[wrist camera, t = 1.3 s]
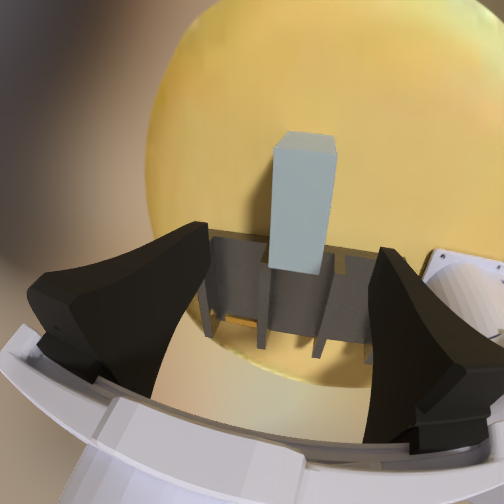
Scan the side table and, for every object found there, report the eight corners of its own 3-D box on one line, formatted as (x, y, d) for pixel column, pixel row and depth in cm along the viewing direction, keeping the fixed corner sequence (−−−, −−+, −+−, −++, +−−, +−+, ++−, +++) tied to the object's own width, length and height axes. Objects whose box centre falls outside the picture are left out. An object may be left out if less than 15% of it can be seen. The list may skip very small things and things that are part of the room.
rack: (404, 257, 20) (414, 284, 17) (371, 337, 25) (372, 364, 23) (207, 228, 23) (190, 251, 20) (215, 311, 29) (204, 336, 26)
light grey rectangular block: (333, 135, 16) (337, 155, 12) (322, 226, 20) (318, 275, 16) (289, 130, 17) (273, 147, 12) (283, 221, 21) (268, 267, 16)
